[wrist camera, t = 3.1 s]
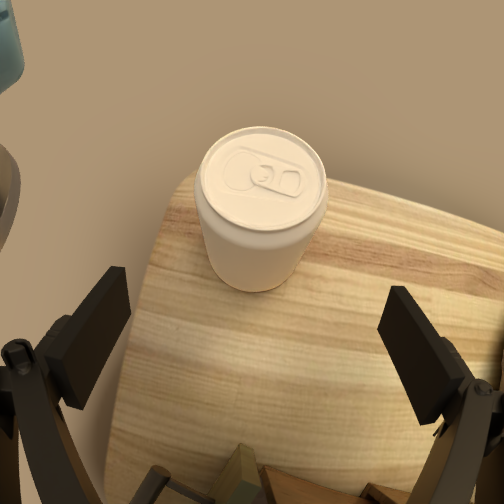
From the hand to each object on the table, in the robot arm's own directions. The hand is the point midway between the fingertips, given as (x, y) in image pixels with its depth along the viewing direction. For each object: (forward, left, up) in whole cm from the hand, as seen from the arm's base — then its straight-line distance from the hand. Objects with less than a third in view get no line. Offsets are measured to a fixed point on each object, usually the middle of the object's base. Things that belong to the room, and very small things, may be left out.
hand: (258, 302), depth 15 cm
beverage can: (-3, +6, -12) cm, 14 cm away
